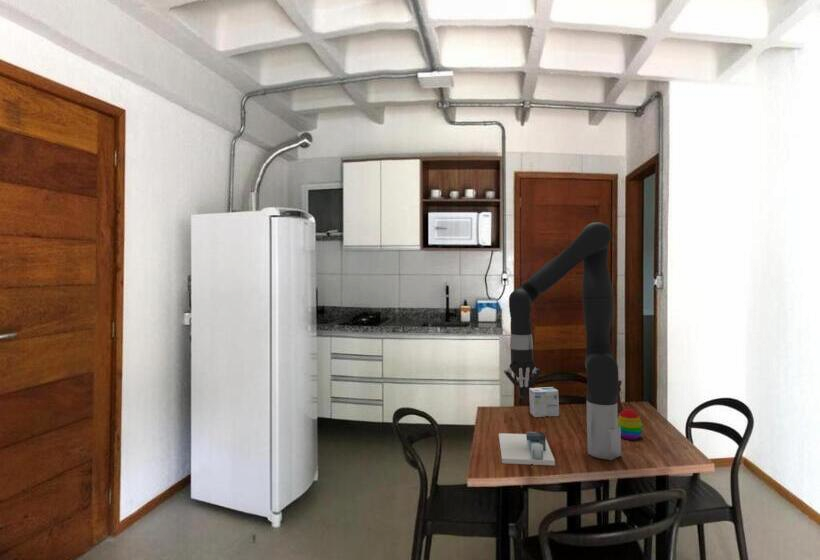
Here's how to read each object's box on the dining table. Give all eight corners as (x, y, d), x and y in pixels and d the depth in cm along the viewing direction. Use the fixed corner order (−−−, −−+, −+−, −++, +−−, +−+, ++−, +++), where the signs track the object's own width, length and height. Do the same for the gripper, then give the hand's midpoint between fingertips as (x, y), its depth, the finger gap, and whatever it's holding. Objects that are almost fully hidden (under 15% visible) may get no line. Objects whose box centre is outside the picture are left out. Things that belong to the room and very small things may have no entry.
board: (555, 465, 135) (554, 460, 135) (502, 463, 137) (502, 458, 137) (544, 438, 156) (544, 434, 156) (498, 437, 159) (498, 433, 159)
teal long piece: (544, 458, 135) (543, 447, 135) (532, 458, 136) (531, 447, 136) (537, 439, 151) (536, 429, 151) (526, 438, 152) (526, 428, 152)
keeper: (545, 450, 142) (545, 436, 142) (527, 450, 143) (526, 435, 143) (544, 447, 145) (544, 432, 145) (526, 446, 146) (525, 432, 146)
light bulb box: (553, 411, 187) (552, 386, 187) (559, 416, 180) (559, 390, 180) (529, 412, 186) (528, 387, 186) (534, 417, 180) (533, 391, 180)
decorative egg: (645, 436, 157) (644, 408, 156) (638, 443, 151) (638, 414, 150) (620, 431, 162) (620, 404, 162) (613, 437, 156) (613, 409, 156)
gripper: (505, 349, 146) (507, 401, 146) (544, 347, 146) (546, 399, 147) (499, 346, 153) (501, 395, 153) (536, 344, 154) (537, 393, 154)
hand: (523, 397), depth 150 cm, fingers closed
